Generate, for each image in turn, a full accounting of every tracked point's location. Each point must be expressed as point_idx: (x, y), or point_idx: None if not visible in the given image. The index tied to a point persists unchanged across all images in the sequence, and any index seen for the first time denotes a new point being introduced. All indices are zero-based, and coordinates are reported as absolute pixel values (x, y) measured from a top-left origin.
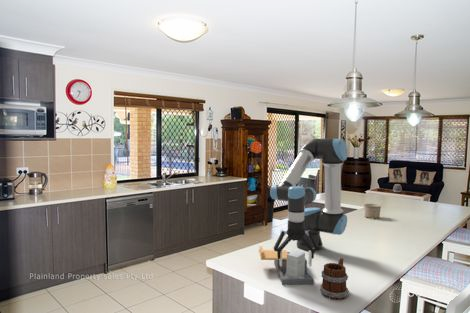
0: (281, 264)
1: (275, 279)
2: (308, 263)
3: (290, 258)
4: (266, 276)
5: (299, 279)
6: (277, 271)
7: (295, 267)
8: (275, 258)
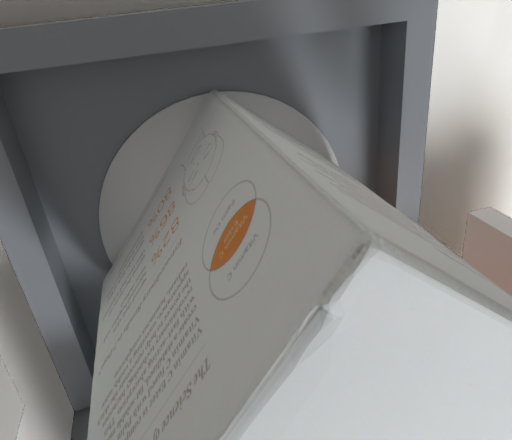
0: (502, 224)
1: (434, 133)
2: (22, 413)
3: (476, 275)
4: (498, 188)
5: (183, 10)
6: None
7: (288, 146)
8: None
